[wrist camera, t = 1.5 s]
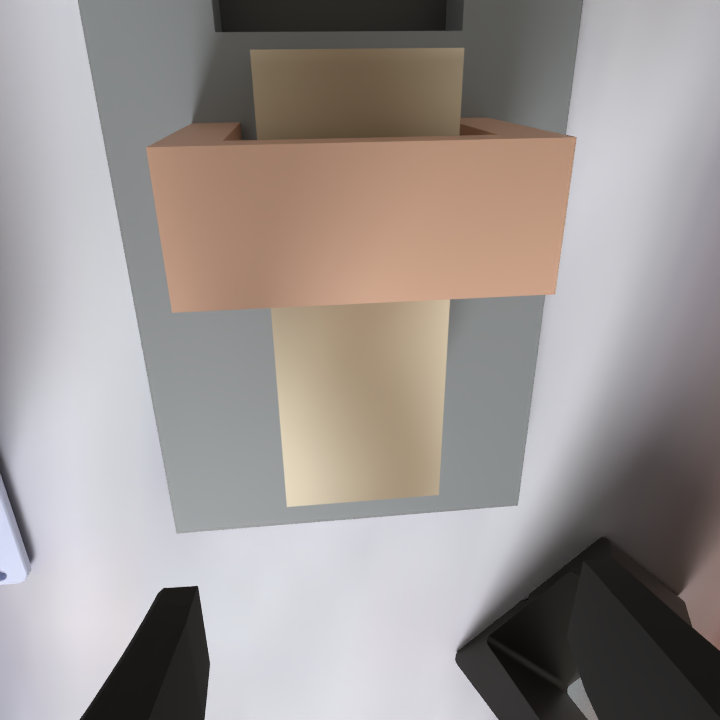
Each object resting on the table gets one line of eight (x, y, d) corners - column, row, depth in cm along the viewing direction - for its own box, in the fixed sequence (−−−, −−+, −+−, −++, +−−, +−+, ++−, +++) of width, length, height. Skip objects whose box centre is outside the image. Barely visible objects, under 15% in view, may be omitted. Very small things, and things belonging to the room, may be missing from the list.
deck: (185, 496, 22) (176, 533, 20) (63, -214, 14) (30, -257, 12) (500, 472, 23) (517, 505, 22) (574, -198, 15) (613, -236, 13)
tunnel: (206, 241, 16) (171, 312, 11) (191, 123, 15) (145, 147, 10) (478, 231, 17) (555, 294, 12) (487, 117, 16) (576, 137, 11)
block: (287, 425, 19) (286, 507, 15) (259, 55, 14) (249, 49, 11) (410, 416, 19) (438, 494, 16) (421, 53, 15) (464, 47, 11)
